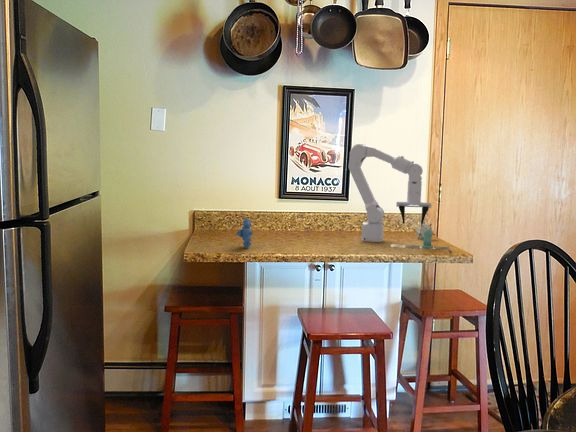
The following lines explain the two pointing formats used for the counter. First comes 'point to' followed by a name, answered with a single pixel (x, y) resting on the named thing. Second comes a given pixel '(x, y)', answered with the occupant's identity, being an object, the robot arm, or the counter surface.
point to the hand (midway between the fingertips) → (412, 223)
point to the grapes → (245, 233)
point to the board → (421, 247)
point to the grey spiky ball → (421, 230)
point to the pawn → (427, 239)
